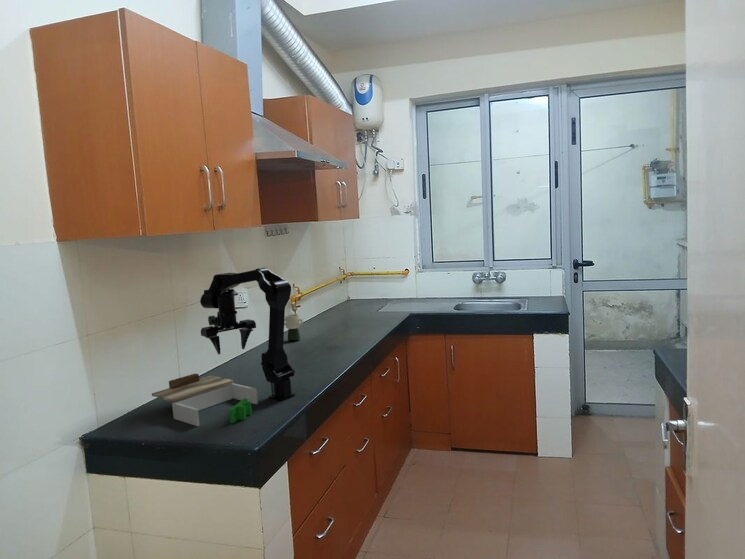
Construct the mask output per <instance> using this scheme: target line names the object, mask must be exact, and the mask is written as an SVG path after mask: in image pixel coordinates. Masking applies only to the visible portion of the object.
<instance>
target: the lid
mask: <svg viewBox="0 0 745 559" xmlns="http://www.w3.org/2000/svg"><path fill="white" fill-rule="evenodd" d="M232 383H234V384H235V381H234V380H233V379H229V378H224V377H219V376H215V375H208V376H204V377H201V378H200V375H199V373H191V374H189V375H185V376H181V377H178V378H175V379H171V380H168V385H169V386H168V387H169V388H165V389H162V390H159V391H155V392H152V393H151V396H152V397H154V398H158V399H161V400H165V401H168V402H171V403H173V402H176V401H179V400H182V399H185V398H189V397H192V396H195V395H198V394H201V393H204V392H207V391H210V390H213V389H216V388H219V387H222V386H225V385H229V384H232Z"/></svg>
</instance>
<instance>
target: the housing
mask: <svg viewBox="0 0 745 559" xmlns="http://www.w3.org/2000/svg"><path fill="white" fill-rule="evenodd" d="M257 391H258V390H257V388H255V387H251V386H246V385H242V384H238V383H235V382H234V383H231V384H228V385H225V386H222V387H219V388H216V389H213V390H210V391H207V392H204V393H201V394H197V395H194V396H191V397H188V398H185V399H182V400H179V401H176V402H171V405H172V407H171V408H172V415H173V419H174V420H177V421H180V422H183V423H186V424H189V425H193V426H196V427H199V426H200V417H199V415H200V414H199V411H202V410H204V409H207V408H210V407H212V406H216V405H218V404H221V403H224V402H228V401H229V400H233V399H234V400H239V401H241V400H243V399H244V398H247V401H251V404H254V405H258V404H259V401H258V400H259V398H258V392H257Z"/></svg>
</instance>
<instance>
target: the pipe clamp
mask: <svg viewBox="0 0 745 559" xmlns="http://www.w3.org/2000/svg"><path fill="white" fill-rule="evenodd" d="M228 411H229V423H230V424H235V422H237V421H241V420H242V421H245V420H246V419H247V416H251V415H252V414H253V413H252V412H253V411H252V403H251V401H247V398H244V399H243V400H239V402H238V403H236V404H235V405H233V406H232V407H231V408H230V409H229V410H228Z"/></svg>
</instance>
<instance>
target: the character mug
mask: <svg viewBox="0 0 745 559" xmlns="http://www.w3.org/2000/svg"><path fill="white" fill-rule="evenodd" d="M303 324H304V323H303V318H301V317H300V314H298V313H297V314H296V313H294V314H293V313H292V314H291V313H290V314H287V315H285V318H284V326H285V328H286V329H288V330H287V340H288V341H289V340H295V341H296V340H297V339H299V340H301V336H300V330H299V329H298V328H300V327H301V326H303ZM297 341H298V340H297Z"/></svg>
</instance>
